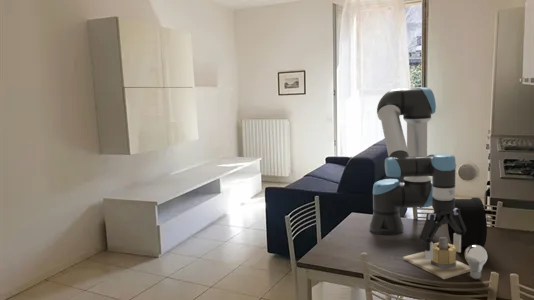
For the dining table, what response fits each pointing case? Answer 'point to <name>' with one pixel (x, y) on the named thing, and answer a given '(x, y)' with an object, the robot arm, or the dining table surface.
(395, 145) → the robot arm
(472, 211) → the car wheel rim
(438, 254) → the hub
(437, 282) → the dining table surface
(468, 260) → the light bulb
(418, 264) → the shaft stand
